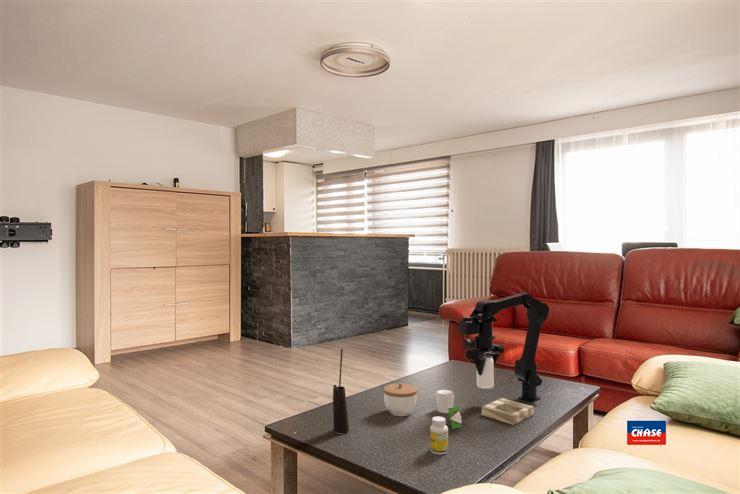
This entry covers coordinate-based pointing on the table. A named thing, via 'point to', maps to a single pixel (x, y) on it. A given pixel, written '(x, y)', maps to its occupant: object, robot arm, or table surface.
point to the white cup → (444, 400)
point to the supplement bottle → (439, 436)
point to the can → (486, 374)
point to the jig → (507, 411)
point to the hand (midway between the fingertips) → (485, 373)
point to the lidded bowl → (400, 398)
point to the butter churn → (340, 406)
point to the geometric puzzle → (455, 417)
